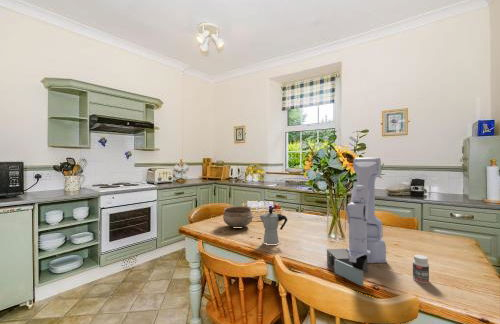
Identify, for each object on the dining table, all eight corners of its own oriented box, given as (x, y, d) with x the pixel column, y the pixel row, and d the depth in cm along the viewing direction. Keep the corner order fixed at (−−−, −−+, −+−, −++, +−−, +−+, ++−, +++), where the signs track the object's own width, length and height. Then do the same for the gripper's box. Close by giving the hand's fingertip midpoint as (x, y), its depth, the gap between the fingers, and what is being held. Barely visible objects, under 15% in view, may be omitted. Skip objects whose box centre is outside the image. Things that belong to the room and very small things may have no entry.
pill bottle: (414, 282, 85) (414, 258, 85) (411, 276, 89) (411, 253, 89) (431, 284, 83) (430, 260, 83) (426, 278, 88) (426, 255, 88)
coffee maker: (258, 245, 123) (257, 210, 123) (259, 240, 132) (259, 206, 132) (288, 246, 121) (287, 210, 121) (287, 240, 130) (287, 207, 130)
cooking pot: (213, 227, 158) (213, 208, 158) (233, 221, 173) (233, 204, 173) (242, 234, 142) (242, 213, 142) (262, 227, 157) (262, 208, 157)
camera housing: (354, 260, 103) (354, 246, 103) (367, 271, 93) (367, 256, 93) (324, 261, 103) (324, 247, 103) (334, 272, 93) (334, 257, 93)
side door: (363, 285, 82) (363, 270, 82) (361, 286, 82) (361, 271, 82) (335, 272, 93) (335, 258, 93) (334, 272, 92) (334, 259, 92)
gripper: (365, 245, 77) (365, 287, 77) (374, 233, 89) (374, 270, 89) (342, 241, 81) (343, 281, 82) (353, 230, 93) (354, 265, 93)
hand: (358, 275), depth 86 cm, fingers closed, pressing on side door
